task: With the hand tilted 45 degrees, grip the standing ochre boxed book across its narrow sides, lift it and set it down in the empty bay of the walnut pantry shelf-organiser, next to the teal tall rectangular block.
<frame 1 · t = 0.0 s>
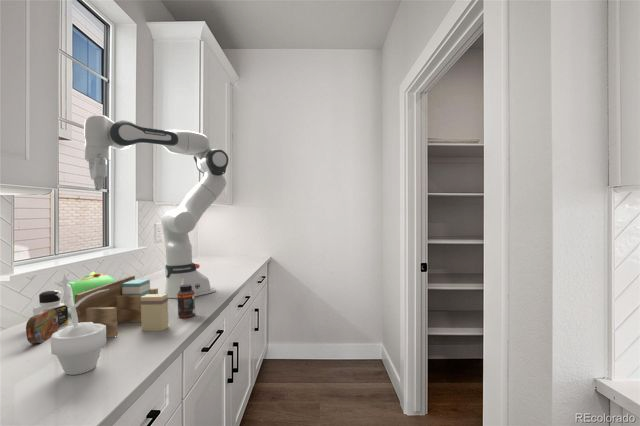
hand: (99, 189, 149), 48 cm above the worktop, tool pointing down, fingers open, 8 cm apart
supplement bottle: (186, 316, 135), on the worktop
book box: (155, 328, 121), on the worktop
teal tall rectangular block: (137, 316, 135), resting in pantry shelf
potted plant: (83, 370, 91), on the worktop
tin: (43, 339, 114), on the worktop
medicine bottle: (51, 326, 127), on the worktop
toy bird: (94, 309, 147), on the worktop
pantry shelf: (118, 328, 122), on the worktop
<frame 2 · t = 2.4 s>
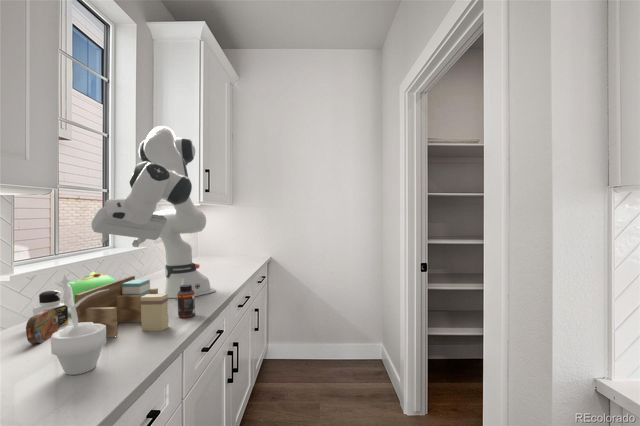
hand: (119, 244, 119), 28 cm above the worktop, tool tilted 40°, fingers open, 8 cm apart
nothing on the worktop moved.
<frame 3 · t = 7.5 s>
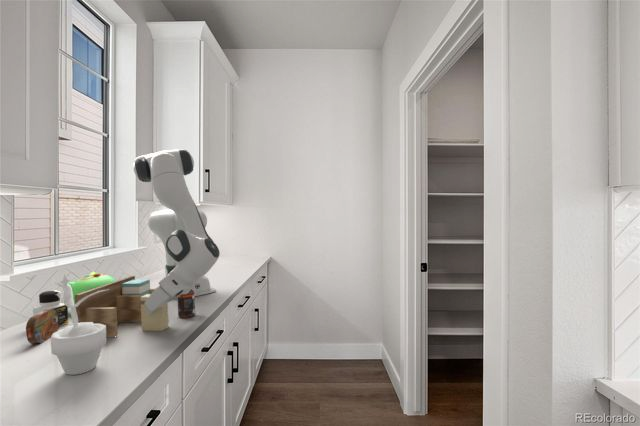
hand: (152, 310, 121), 6 cm above the worktop, tool tilted 45°, fingers closed on book box, 4 cm apart
book box: (155, 328, 121), on the worktop, touching gripper
everything else where it was.
when the fingers open (7 cm above the worktop, at t = 13.1 s): book box drops 1 cm, on the worktop.
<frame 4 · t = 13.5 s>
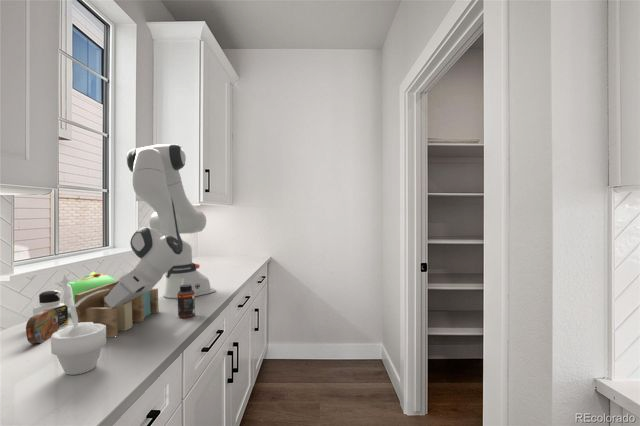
hand: (116, 307, 122), 7 cm above the worktop, tool tilted 45°, fingers open, 8 cm apart
book box: (118, 328, 122), on the worktop
everything else where it was.
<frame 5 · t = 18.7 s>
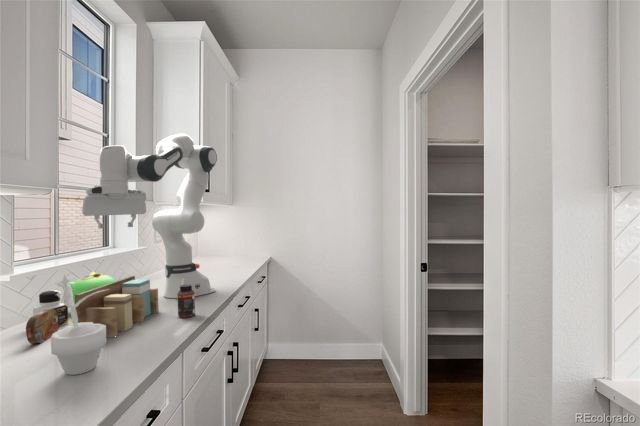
hand: (116, 227, 133), 33 cm above the worktop, tool pointing down, fingers open, 8 cm apart
nothing on the worktop moved.
at the end: book box 0.1 cm from the pantry shelf (horizontally); book box tilted 0°; the gripper is holding nothing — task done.
